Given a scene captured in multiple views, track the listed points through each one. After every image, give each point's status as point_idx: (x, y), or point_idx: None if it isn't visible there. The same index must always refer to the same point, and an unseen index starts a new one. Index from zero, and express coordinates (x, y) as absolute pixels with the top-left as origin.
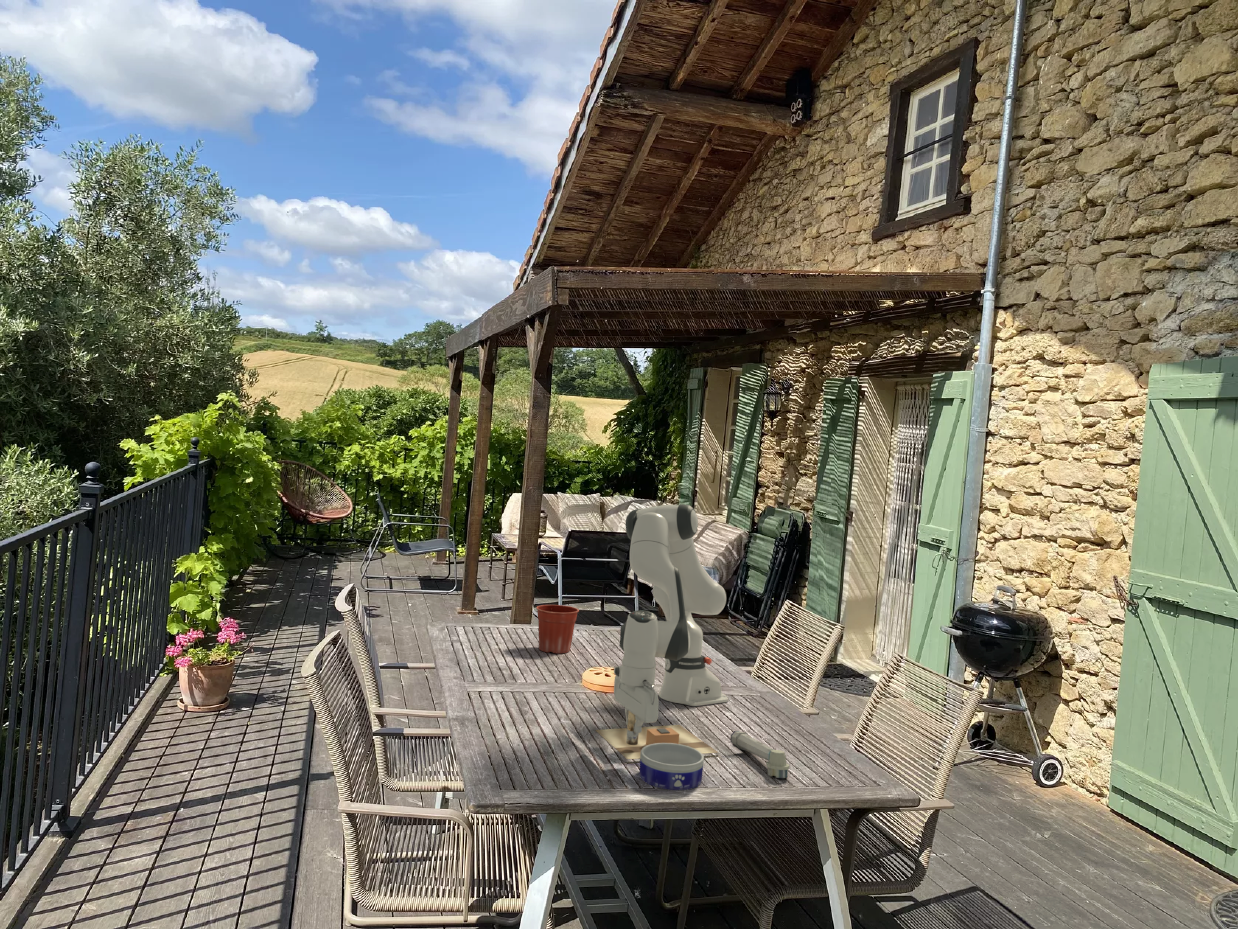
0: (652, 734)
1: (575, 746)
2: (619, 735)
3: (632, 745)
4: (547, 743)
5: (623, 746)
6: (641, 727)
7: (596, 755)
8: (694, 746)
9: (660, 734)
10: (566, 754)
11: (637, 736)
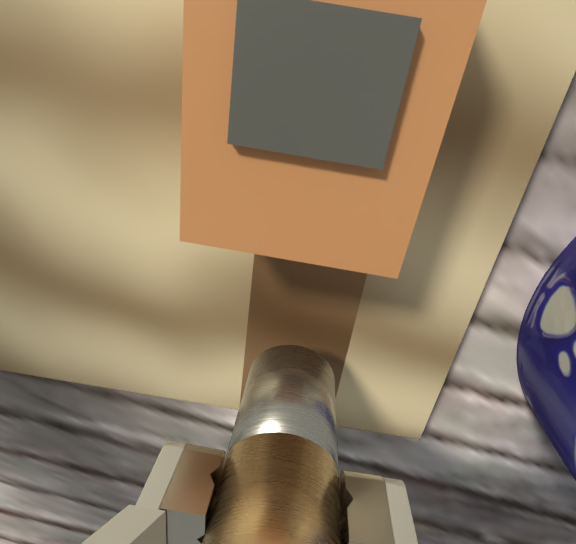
0: (330, 262)
1: (126, 480)
2: (24, 279)
3: (225, 304)
4: (82, 534)
5: (228, 361)
6: (414, 533)
7: None
8: None
9: (399, 197)
10: None
11: (332, 417)
